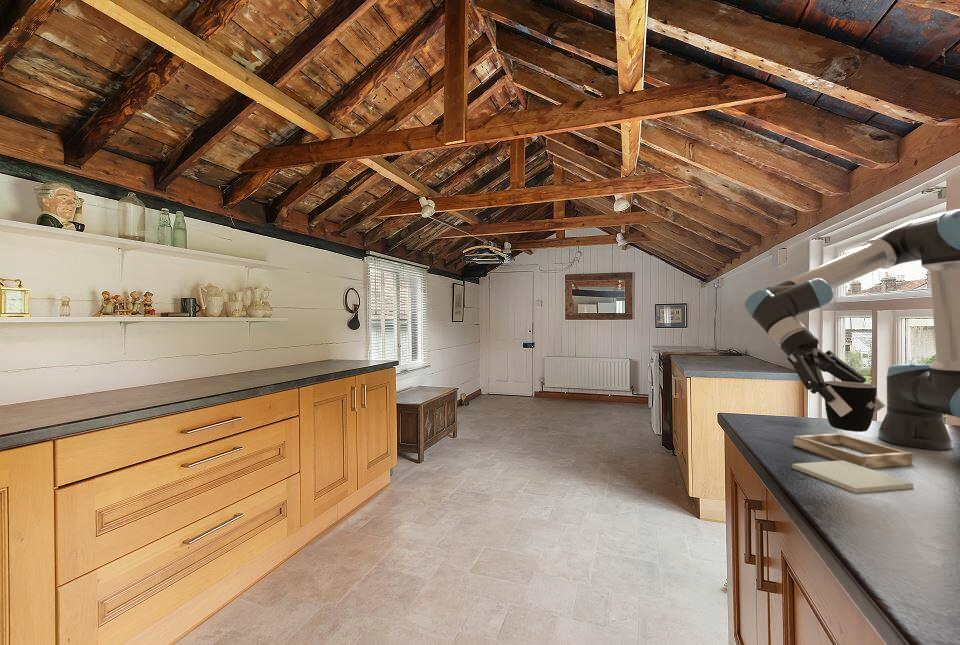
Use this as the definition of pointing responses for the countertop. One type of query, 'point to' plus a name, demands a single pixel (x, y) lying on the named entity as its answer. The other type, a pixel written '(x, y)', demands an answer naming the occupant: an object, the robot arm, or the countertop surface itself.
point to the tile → (852, 476)
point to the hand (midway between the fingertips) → (863, 411)
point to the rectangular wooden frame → (877, 458)
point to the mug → (853, 405)
